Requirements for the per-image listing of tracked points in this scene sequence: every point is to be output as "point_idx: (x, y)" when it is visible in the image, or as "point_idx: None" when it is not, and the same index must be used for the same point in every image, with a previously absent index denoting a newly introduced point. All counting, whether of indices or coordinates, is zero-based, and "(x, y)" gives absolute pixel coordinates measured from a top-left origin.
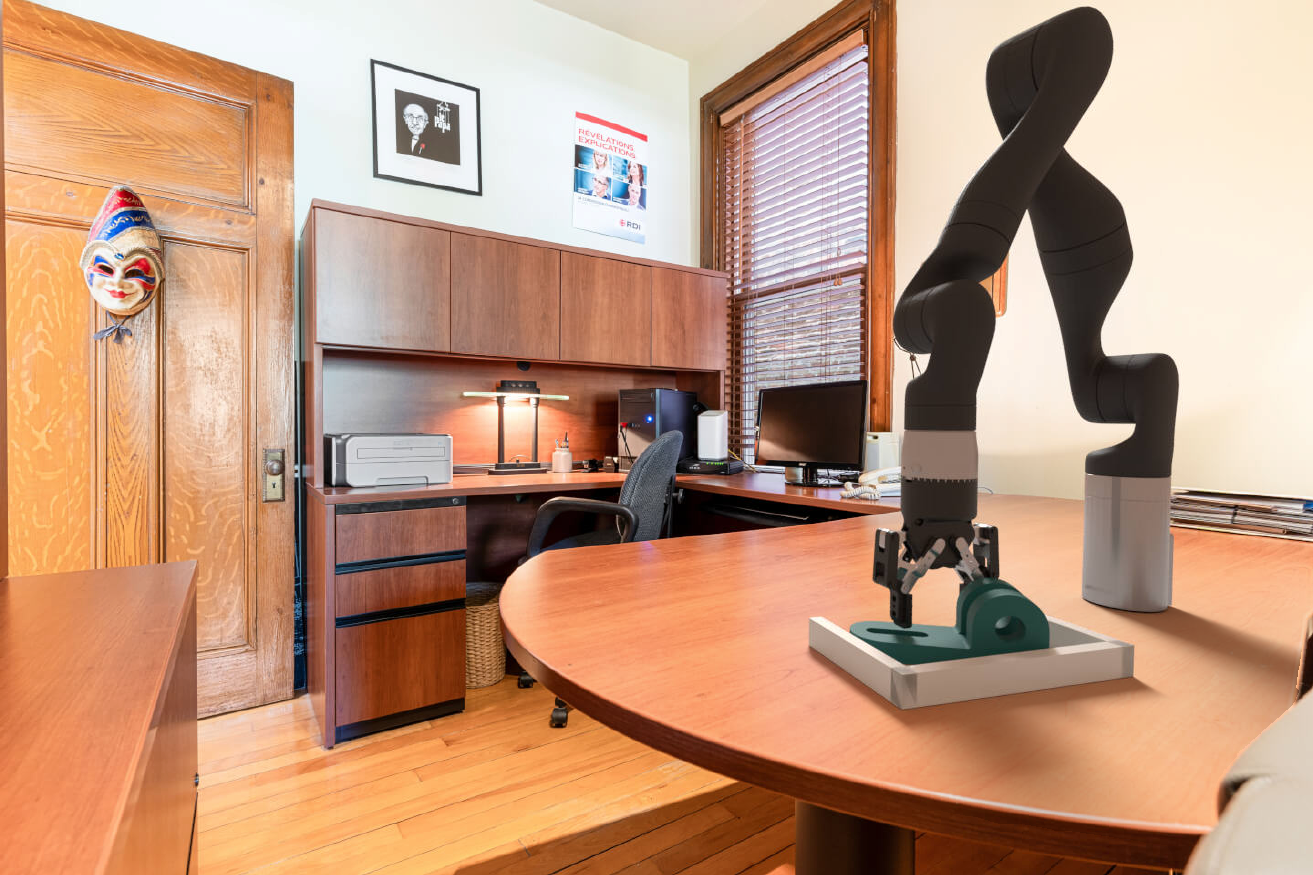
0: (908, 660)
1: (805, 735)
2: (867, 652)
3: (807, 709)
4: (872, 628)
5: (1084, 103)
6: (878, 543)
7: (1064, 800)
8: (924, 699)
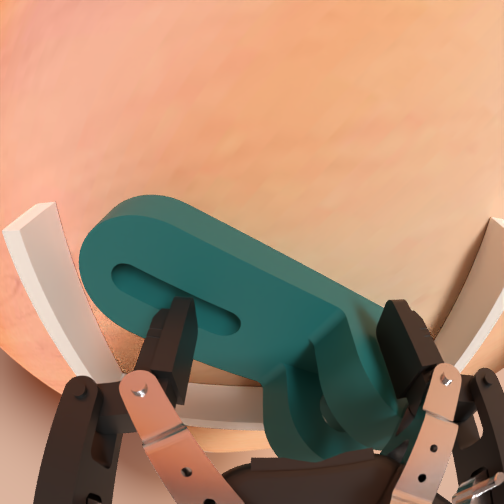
0: None
1: (40, 367)
2: (76, 373)
3: (38, 347)
4: (131, 263)
5: None
6: (47, 499)
7: None
8: None
